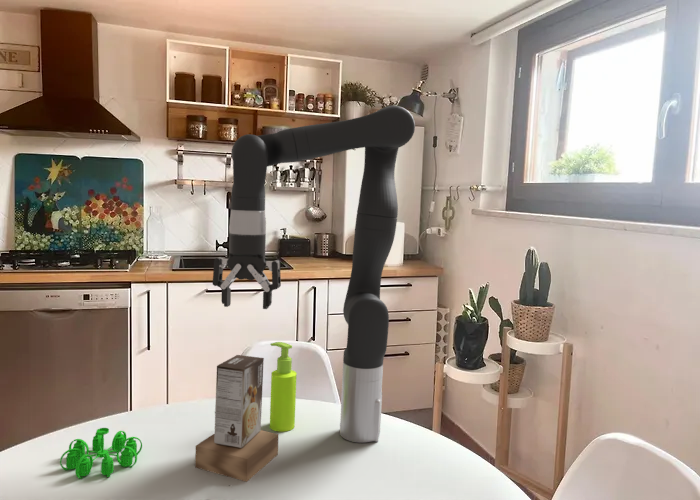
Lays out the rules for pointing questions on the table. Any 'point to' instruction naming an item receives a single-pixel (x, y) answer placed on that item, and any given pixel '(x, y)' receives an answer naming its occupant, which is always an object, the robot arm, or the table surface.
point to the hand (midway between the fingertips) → (246, 307)
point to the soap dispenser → (283, 392)
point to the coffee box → (238, 400)
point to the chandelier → (101, 453)
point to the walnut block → (237, 456)
